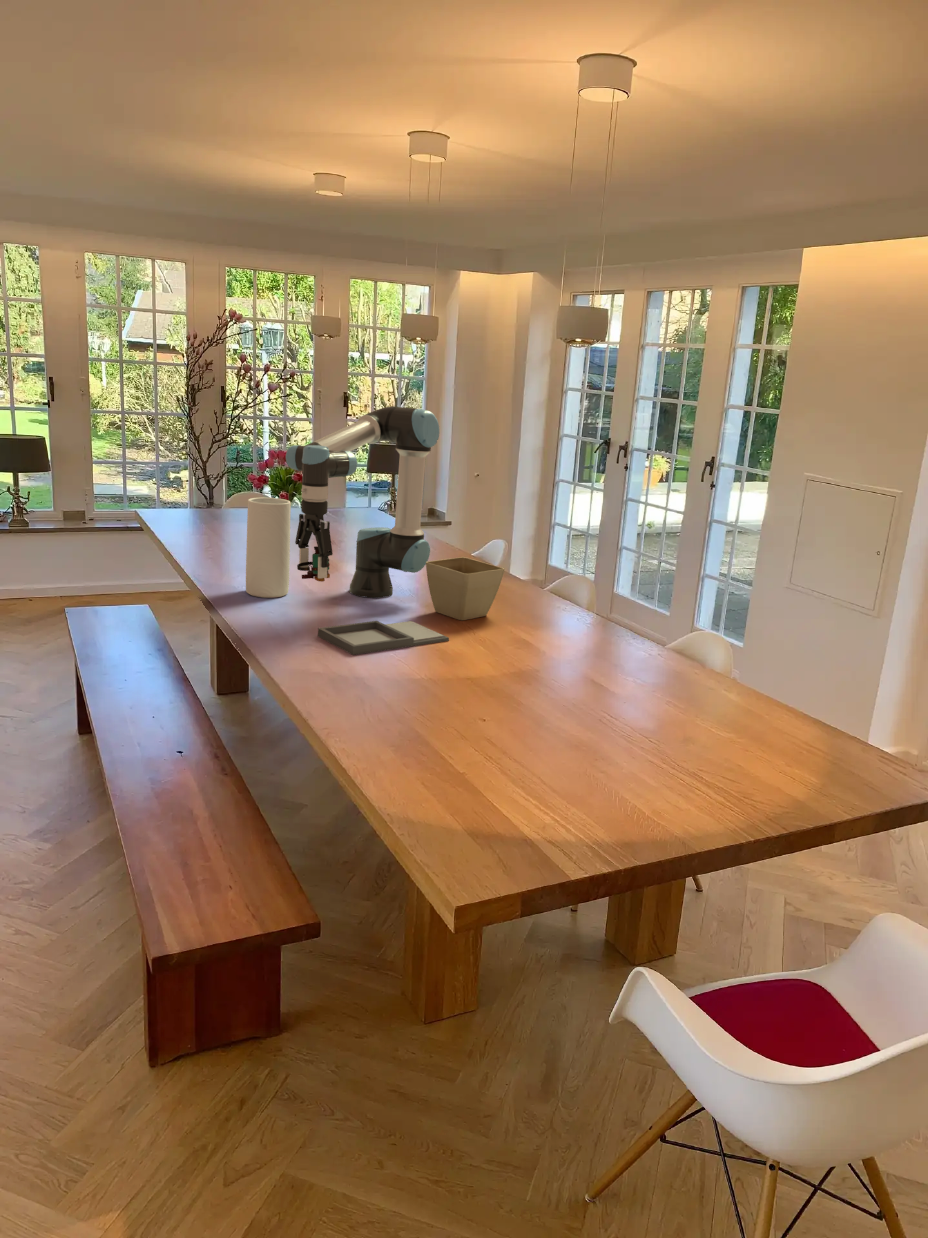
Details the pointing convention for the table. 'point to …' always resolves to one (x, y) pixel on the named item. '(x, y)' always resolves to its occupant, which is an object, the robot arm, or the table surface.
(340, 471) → the robot arm
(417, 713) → the table surface
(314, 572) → the binoculars
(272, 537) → the vase
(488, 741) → the table surface
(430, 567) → the flower pot
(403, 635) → the case
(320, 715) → the table surface
